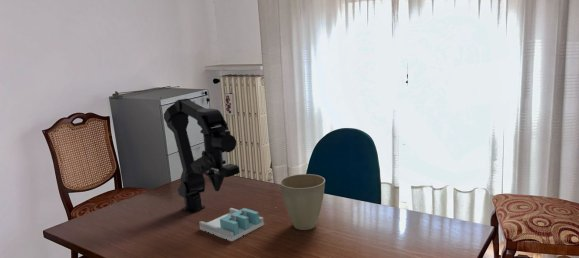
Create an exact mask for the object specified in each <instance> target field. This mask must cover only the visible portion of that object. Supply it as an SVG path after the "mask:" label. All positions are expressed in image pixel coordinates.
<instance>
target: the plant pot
mask: <svg viewBox="0 0 579 258" xmlns="http://www.w3.org/2000/svg"><path fill="white" fill-rule="evenodd" d="M279 184H280V189H281V193H282V197H283V202H284V203H285V208H286V211H287V213H288V216H289V218H290V221H291V223H292V225H293V228H295V229H297V230H301V231H307V230H312V229H315V227H317V226H316V225H317V223H318V220H319V216H320V213H321V209H322V205H323V200H324V194H325V185H326V179H325V177H323V176H321V175H318V174H310V173H303V174H302V173H300V174H293V175H289V176H285V177H284V178H281V180H280V181H279Z"/></svg>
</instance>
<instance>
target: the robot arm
mask: <svg viewBox="0 0 579 258" xmlns="http://www.w3.org/2000/svg"><path fill="white" fill-rule="evenodd" d="M189 117H191V118H192V119H194V120H196V122H197V125H198V126H199V127H200V128H201V130H200V134H202V135H203V145H204V150H203V151H201V156H200V157H199V158H197V159H194V158H195V157H194V155H193V151H192V146H191V142H190V139H189V134H188V130H187V129H188V125H189V122H190V120H189ZM163 120H164V122H165V123H166V126H167V128H168V129H169V130H170V131H171V132H172V133H173V136H174V141H175V144H176V147H177V152H178V156H179V160H180V165H181V168H182V172H181V175H180V182H181V183H180V184H179V187H178V188H177V191H178V196H180V197H182V198H183V199H184V206H183V207H181V210H182V211H184V212H188V213H191V214H193V213H195V212H199V211H200V210H203V209H205V208H206V206H205V205H202V198H201V193H205V190H206V180H205V177H204V175H205V176H207V177H208V178H209V181H210V182H211V184H212V186H213V188H214V191H215V192H219V191H220V189H221V186H222V184H223V182H224V180H225V178H231V177H232V176H235V175H238V174H240V166H239V165H237V164H233V163H228V164H226V160H225V159H223V158H224V155H223V153H231V152H233V151H234V150H235V148H236V147H237V140H236V138H235V136H234V135H232V134H231V131H230V130H229V125H228V123H227V122H226V120H225V118H224V116H223V114H222V112H221V111H220V110H219V109H216V108H206V107H203V106H202V105H200V104H198V103H196V102H194V101H192V100H191V99H190V98H182V99H177V100H176V101H175V102H174V103H173V104H171V105H170V106H169V107H168V108H166V109H165V111H164V113H163Z"/></svg>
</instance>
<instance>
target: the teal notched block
mask: <svg viewBox="0 0 579 258" xmlns="http://www.w3.org/2000/svg"><path fill="white" fill-rule="evenodd" d="M238 210H239V211H236V212H234V213H232V214H235V215H236V222H235V221H233V220H231V215H232V214H230V215H228V216H226V217H223V218H221V219H220V226H221V228H222V229H225V230H228V231H230V232H233V233H234V235H237V234H239V229H238V228H241V229H244V230H247V229H249V223H252V224H255V225H257V224H259V217H260V214H259V213H260V212H258V211H255V210H252V209H249V208H246V207H243V208H241V209H238ZM241 210H246V215H247V217H246V216H243V215H242V212H241Z"/></svg>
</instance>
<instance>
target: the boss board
mask: <svg viewBox="0 0 579 258" xmlns="http://www.w3.org/2000/svg"><path fill="white" fill-rule="evenodd" d="M239 210H241V209H236V208H233V207H230V208H229V212H228V213H226V214H223V215H221V216H219V217H217V218H215V219H213V220H210V221H207V222H205V221H203V220H201V221H199V230H201V231H203V232H205V231H206V233H208V232H209V234H211V235H213V234H214V236H216V237H219V238H221V239H225V240H226V239H227V241H229V242H234V241H236V240H238V239H239V238H241V237H243V235H244V236H245V235H247V234H250V233H252V232H253V231H255V230H257V229H258V228H261V227H263V226H264V225H265V224H264V223H265V222H264V217H263V216H259V224H257V225H255V224H252V223H249V229H247V230H244V229H241V228H238V229H239V234H237V235H234V233H233V232H230V231H228V230H225V229H222V228H221V226H220V219H221V218H223V217H226V216H228V215H230V214H232V213H234V212H236V211H239ZM241 212H242V215H243V216H246V217H247V215H246V210H241ZM231 220H233V221H235V222H236V215H235V214H232V215H231Z"/></svg>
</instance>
